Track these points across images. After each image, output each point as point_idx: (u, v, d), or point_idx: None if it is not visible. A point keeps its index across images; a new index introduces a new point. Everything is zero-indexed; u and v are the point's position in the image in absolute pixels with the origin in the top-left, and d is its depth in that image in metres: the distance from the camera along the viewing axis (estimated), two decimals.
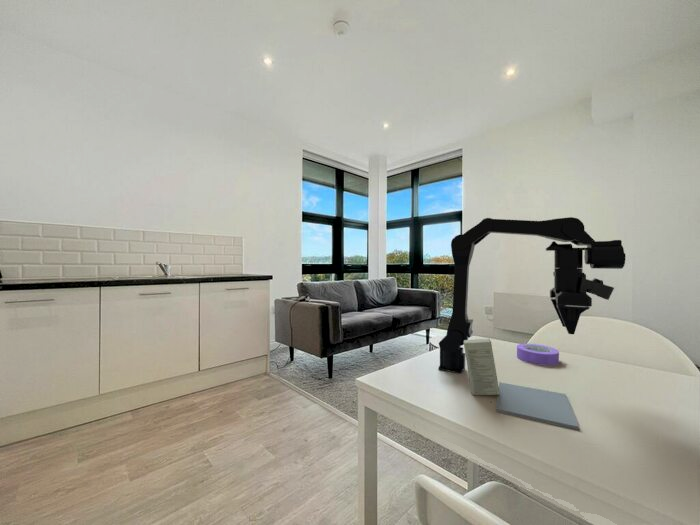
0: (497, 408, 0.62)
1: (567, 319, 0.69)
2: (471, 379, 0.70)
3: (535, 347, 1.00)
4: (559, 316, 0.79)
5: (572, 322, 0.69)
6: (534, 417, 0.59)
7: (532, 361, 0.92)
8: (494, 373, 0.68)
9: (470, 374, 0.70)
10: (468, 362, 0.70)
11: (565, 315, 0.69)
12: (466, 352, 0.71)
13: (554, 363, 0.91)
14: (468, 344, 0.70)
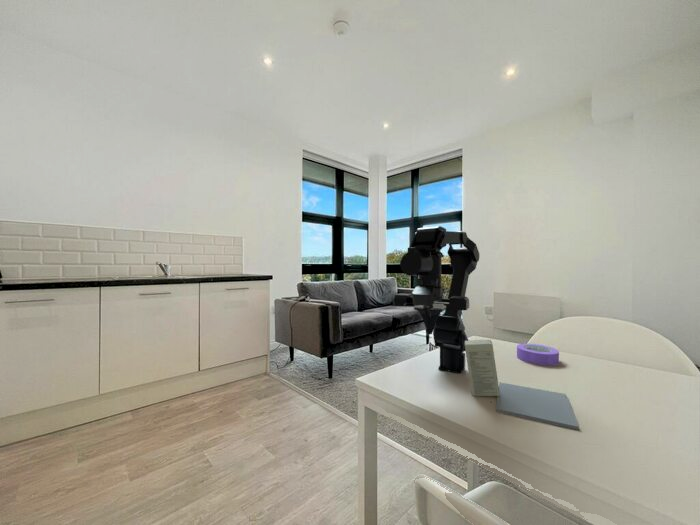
0: (497, 408, 0.62)
1: None
2: (471, 380, 0.69)
3: (535, 347, 1.00)
4: None
5: None
6: (534, 417, 0.59)
7: (532, 361, 0.92)
8: (495, 375, 0.68)
9: (470, 375, 0.70)
10: (469, 364, 0.70)
11: None
12: (467, 354, 0.70)
13: (554, 363, 0.91)
14: (469, 346, 0.70)
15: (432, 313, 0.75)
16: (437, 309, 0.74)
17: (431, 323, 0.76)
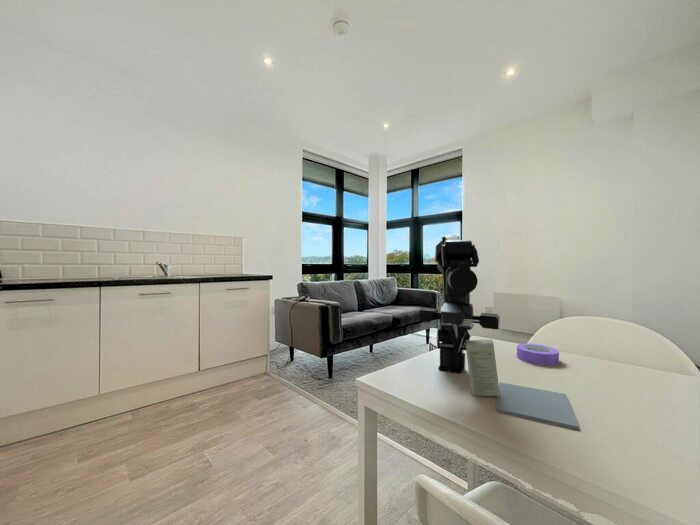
0: (497, 408, 0.62)
1: None
2: (472, 380, 0.69)
3: (535, 347, 1.00)
4: None
5: None
6: (534, 417, 0.59)
7: (532, 361, 0.92)
8: (495, 375, 0.68)
9: (471, 375, 0.70)
10: (469, 363, 0.70)
11: None
12: (468, 353, 0.70)
13: (554, 363, 0.91)
14: (470, 345, 0.70)
15: (460, 330, 0.71)
16: (465, 327, 0.70)
17: (458, 341, 0.72)
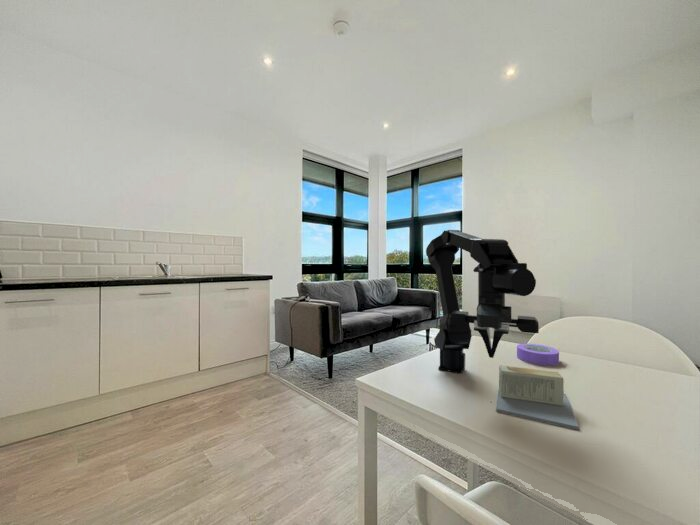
0: (497, 408, 0.62)
1: None
2: (518, 374, 0.66)
3: (535, 347, 1.00)
4: None
5: None
6: (534, 417, 0.59)
7: (532, 361, 0.92)
8: (524, 398, 0.66)
9: (524, 375, 0.66)
10: (538, 376, 0.65)
11: None
12: (551, 377, 0.64)
13: (554, 363, 0.91)
14: (561, 382, 0.63)
15: (496, 334, 0.67)
16: (502, 331, 0.67)
17: (494, 346, 0.68)
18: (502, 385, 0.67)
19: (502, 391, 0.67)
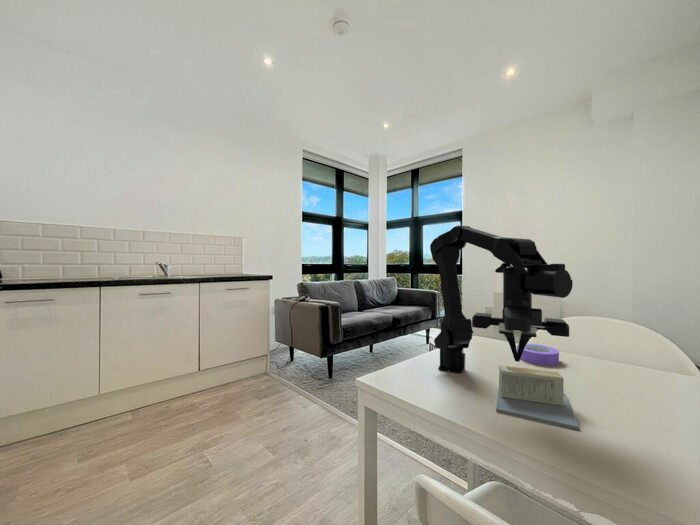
0: (497, 408, 0.62)
1: None
2: (518, 374, 0.66)
3: (535, 347, 1.00)
4: None
5: None
6: (534, 417, 0.59)
7: (532, 361, 0.92)
8: (524, 398, 0.66)
9: (524, 375, 0.66)
10: (538, 376, 0.65)
11: None
12: (551, 377, 0.64)
13: (554, 363, 0.91)
14: (561, 382, 0.63)
15: (523, 338, 0.65)
16: (530, 334, 0.64)
17: (520, 349, 0.66)
18: (502, 385, 0.67)
19: (502, 391, 0.67)
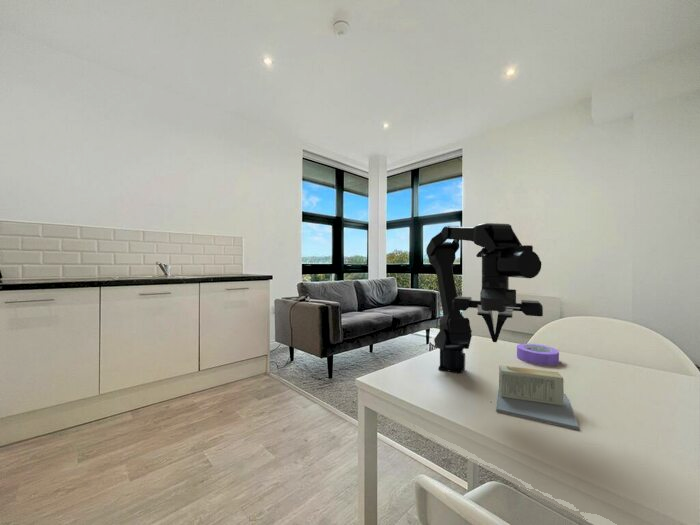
0: (497, 408, 0.62)
1: None
2: (518, 374, 0.66)
3: (535, 347, 1.00)
4: None
5: None
6: (534, 417, 0.59)
7: (532, 361, 0.92)
8: (524, 398, 0.66)
9: (524, 375, 0.66)
10: (538, 376, 0.65)
11: None
12: (551, 377, 0.64)
13: (554, 363, 0.91)
14: (561, 382, 0.63)
15: (499, 318, 0.67)
16: (506, 315, 0.66)
17: (497, 330, 0.68)
18: (502, 385, 0.67)
19: (502, 391, 0.67)
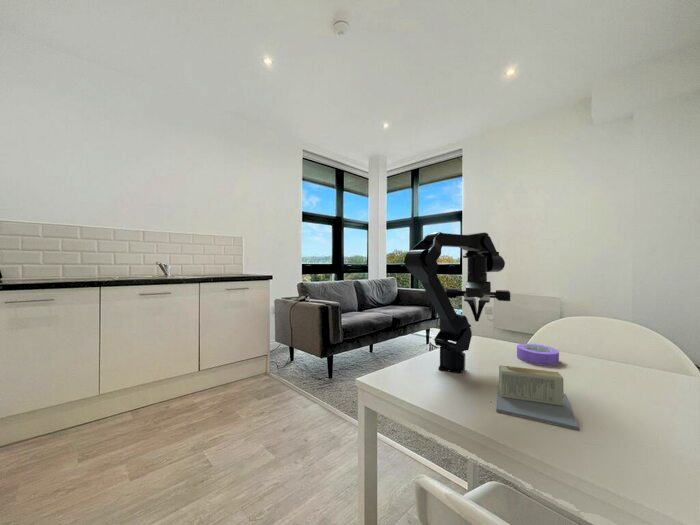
0: (497, 408, 0.62)
1: None
2: (518, 374, 0.66)
3: (535, 347, 1.00)
4: None
5: (472, 311, 0.94)
6: (534, 417, 0.59)
7: (532, 361, 0.92)
8: (524, 398, 0.66)
9: (524, 375, 0.66)
10: (538, 376, 0.65)
11: None
12: (551, 377, 0.64)
13: (554, 363, 0.91)
14: (561, 382, 0.63)
15: (480, 303, 0.91)
16: (484, 300, 0.90)
17: (478, 312, 0.92)
18: (502, 385, 0.67)
19: (502, 391, 0.67)
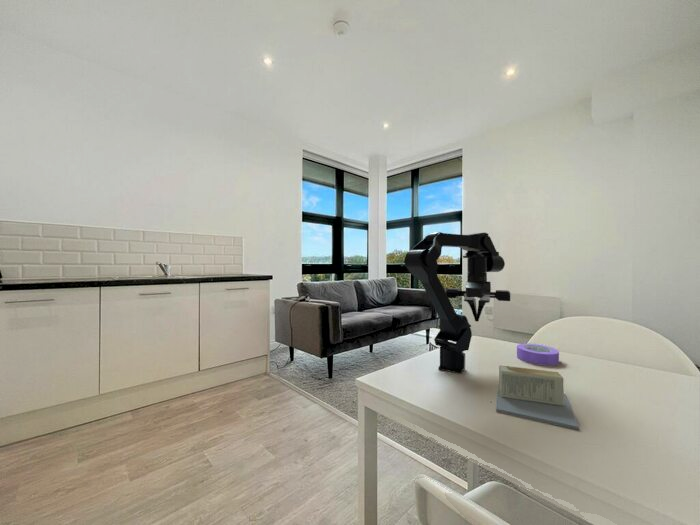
0: (497, 408, 0.62)
1: None
2: (518, 374, 0.66)
3: (535, 347, 1.00)
4: None
5: None
6: (534, 417, 0.59)
7: (532, 361, 0.92)
8: (524, 398, 0.66)
9: (524, 375, 0.66)
10: (538, 376, 0.65)
11: None
12: (551, 377, 0.64)
13: (554, 363, 0.91)
14: (561, 382, 0.63)
15: (480, 303, 0.91)
16: (484, 300, 0.90)
17: (478, 312, 0.92)
18: (502, 385, 0.67)
19: (502, 391, 0.67)
